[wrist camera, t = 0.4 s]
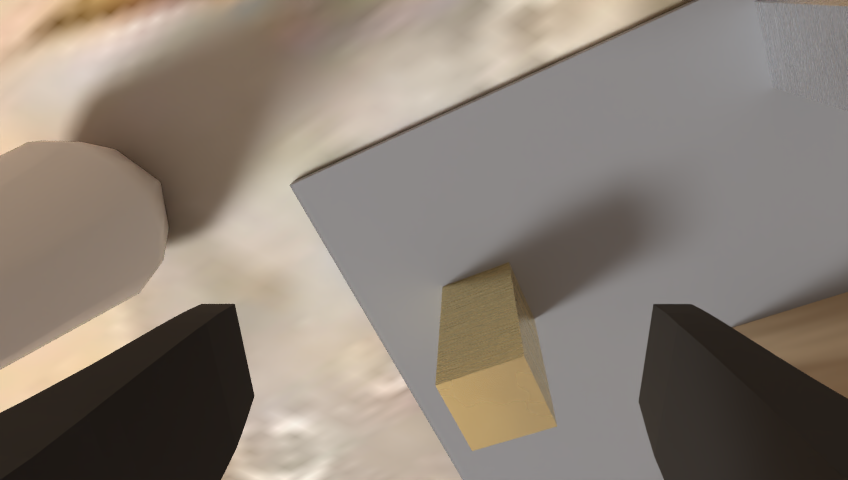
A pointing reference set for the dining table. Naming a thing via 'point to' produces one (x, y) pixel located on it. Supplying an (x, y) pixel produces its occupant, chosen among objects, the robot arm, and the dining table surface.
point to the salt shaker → (72, 239)
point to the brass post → (491, 360)
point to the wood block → (809, 339)
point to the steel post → (807, 47)
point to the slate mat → (597, 222)
